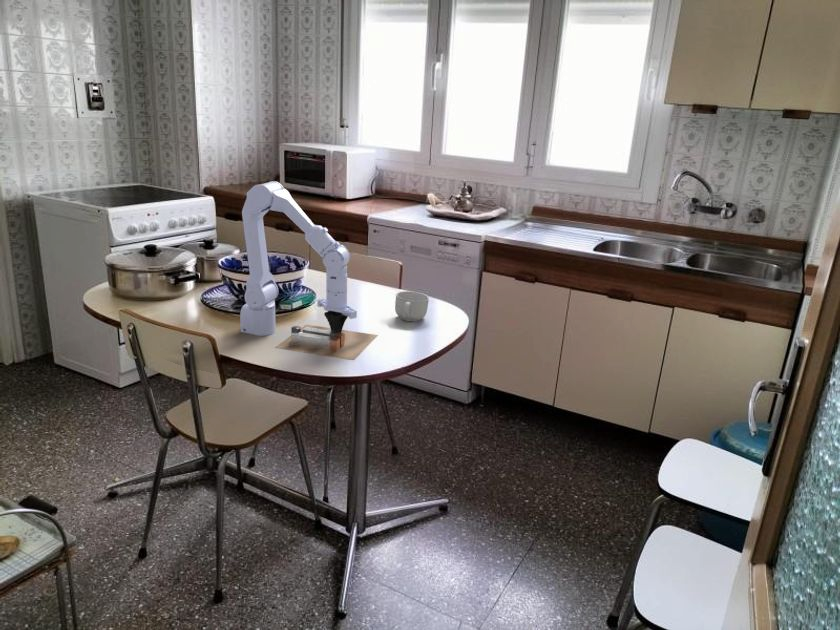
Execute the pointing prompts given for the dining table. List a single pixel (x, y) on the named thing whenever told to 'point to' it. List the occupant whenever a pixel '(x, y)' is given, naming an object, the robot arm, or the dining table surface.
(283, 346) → the board
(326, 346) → the tongs fixed half
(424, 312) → the teacup
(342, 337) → the tong arm
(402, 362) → the dining table surface
